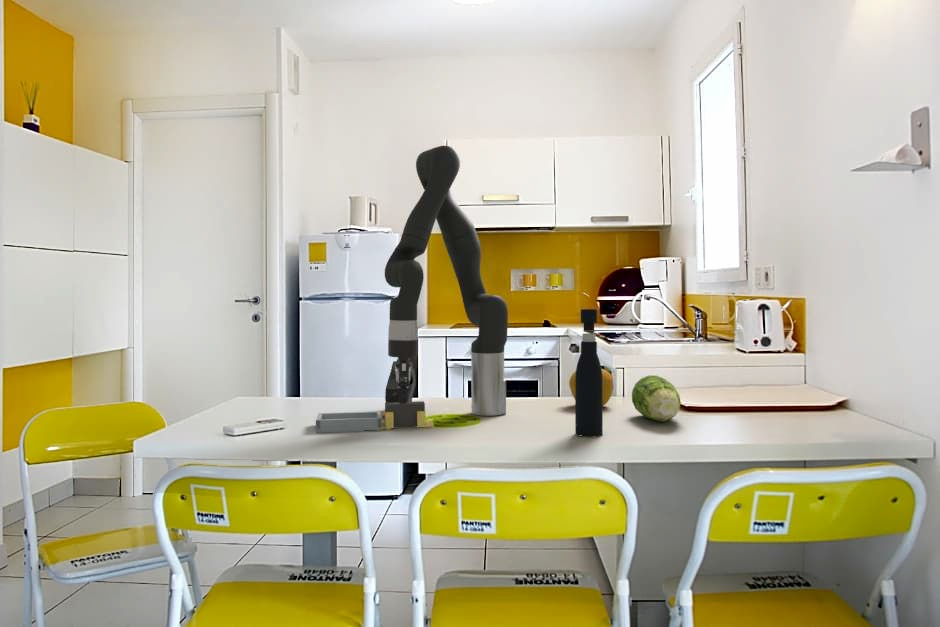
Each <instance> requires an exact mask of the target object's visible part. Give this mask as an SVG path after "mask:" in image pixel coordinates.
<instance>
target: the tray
mask: <svg viewBox="0 0 940 627" xmlns="http://www.w3.org/2000/svg"><path fill="white" fill-rule="evenodd" d="M382 419H383V417H382V412H381V411H379V410H378V411H351V412H350V411H349V412H345V411H344V412H321V413H320V412H319V413H317V417H316V419H315V433H316V432H319V433H340V432H341V433H342V432H347V433H349V432H365V431H364V430H376V431H383V429H382Z"/></svg>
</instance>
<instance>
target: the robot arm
mask: <svg viewBox="0 0 940 627" xmlns="http://www.w3.org/2000/svg"><path fill="white" fill-rule="evenodd" d="M415 162H416V163H415V169H416V173H417V177H418V179H419V181H420V184H421V186H422V188H423V190H424V191H423V193H422V195H421V196H420V198H419V200H418V201H417V203H416V204H415V205H414V207H413V209H412V210H411V212H410V213H409V216H408V217H407V220H406V222H405V224H404V227H403V231H402V234H401V238H400V240H399V241H398V242H399V243H398V244H397V245H396V246H395V248H394V250H393V252H392V253H391V255H390V256H389V258H388V260H387V262H386V264H385V268H384V279H385V282H386V284H388V285H389V286H391V287H393V288H399V292H398V294H397V296H395V297H392V298H391V299H390V301H389V323H388V332H387V334H388V339H387V340H388V348H387V350H388V351H387V352H388V353H387V356H389V357H391V358H396V361H397V363H395V371H396V380H397V384H398V399H399V403H400V404H407V402H408V387H409V381H410V371H411V364H410V363H408V361H409V358H417V357H418V352H419V349H418V348H419V346H418V345H419V343H418V342H419V329H418V328H419V326H418V302H419V299H420V295H421V292H422V287H423V285H424V284H423V283H424V279H425V278H424V269H423V267H422V265H421V264H420V262H419V261H417V260H415V259H416V258H418V257H420V256H421V255H423V254H424V253H425V252H426V249H427V247H428V244H429V241H430V238H431V234H432V231H433V229H434V225H435V223H436V222H437V224H438V227H439V231H440V233H441V236H442V240H443V243H444V246H445V249H446V251H447V254H448V257H449V259H450V262H451V264H452V268H453V272H454V274H455V278H456V279H457V283H458V286H459V291H460V295H461V299H462V303H463V308H464V311H465V315H466V317H467V320H468V321H469V322H470V323H471V325H473V326H474V327H478V335H477V337H476V339H475V340H473V341H472V342H471V345H470V346H471V347H470V348H471V350H470V354H471V356H470V359H471V360H470V361H471V362H470V363H471V365H470V366H471V367H470V368H471V371H470V372H471V374H470V375H471V377H470V378H471V379H470V380H471V381H470V382H471V384H470V385H471V388H470V389H471V414H473V415H476V416H482V417H483V416H487V417H488V416H490V417H491V416H499V415H506V414H507V381H506V379H505V345H506V343H507V340H508V328H509V326H508V324H509V323H508V322H509V310H508V306H507V305H508V304H507V303H506V301H505V300H504V299H503V297H501V296H499V295H497V294H488V293H487V290H486V289H485V285H484V283H483V280H482V276H481V263H482V262H481V260H482V247H481V243H480V239H479V236H478V234H477V230H476V228H475V225H474V222H473V221H472V220H471V219H470V217H469V216H468V214H467V213H466V212H465V211H464V210H463V209H462V208H461V207H460V205H459V204H458V202H456V200H455V198H454V195H453V194H452V192H451V188H452V185H453V183H454V182H455V179H456V178H457V176H458V173H459V171H460V168H461V167H460V166H461V160H460V156H459V154H458V152H457V150H455V149H454V148H453V147H452V146H449V145H439V146H435V147H433V148H430V149H426V150H425V151H422V152H421V153H420V154H419V155H418V156H417V158H416V161H415Z"/></svg>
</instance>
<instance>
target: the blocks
mask: <svg viewBox="0 0 940 627" xmlns="http://www.w3.org/2000/svg"><path fill="white" fill-rule="evenodd" d="M384 412H385V411H384ZM425 425H426V426H425ZM418 427H425V428H426V427H432V428H435V424H434V422H433V420H432V419H426V410H425V411H417V427H416V428H417V429H419V428H418ZM390 428H395V427H394V417H393V412H385V418H384V420H383V421H382V430H391V429H390Z"/></svg>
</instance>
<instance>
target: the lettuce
mask: <svg viewBox="0 0 940 627" xmlns="http://www.w3.org/2000/svg"><path fill="white" fill-rule="evenodd" d="M680 396H681V395H680V393H679V392H678V391H677V388H676V387H675V386H674V384H672V383H671V382H669V381H668V380H667V379H666V378H664V377H661V376H658V375H650V374H649V375H646V376H644V377H642V378H640V379H639V380H638V381H637V382H635V384H634V387H633V388H632V391H631V402H632V404H633V406H634V408H635V410H636V411H638V412H639V413H640V415H642V416H643V417H645V418H647V419H649V420H652V421H656V422H665V421H670V420H671V419H673V418H674V417H676V416H677V414H678V413H679V411H680V407H681V403H682V401H681V397H680Z"/></svg>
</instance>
